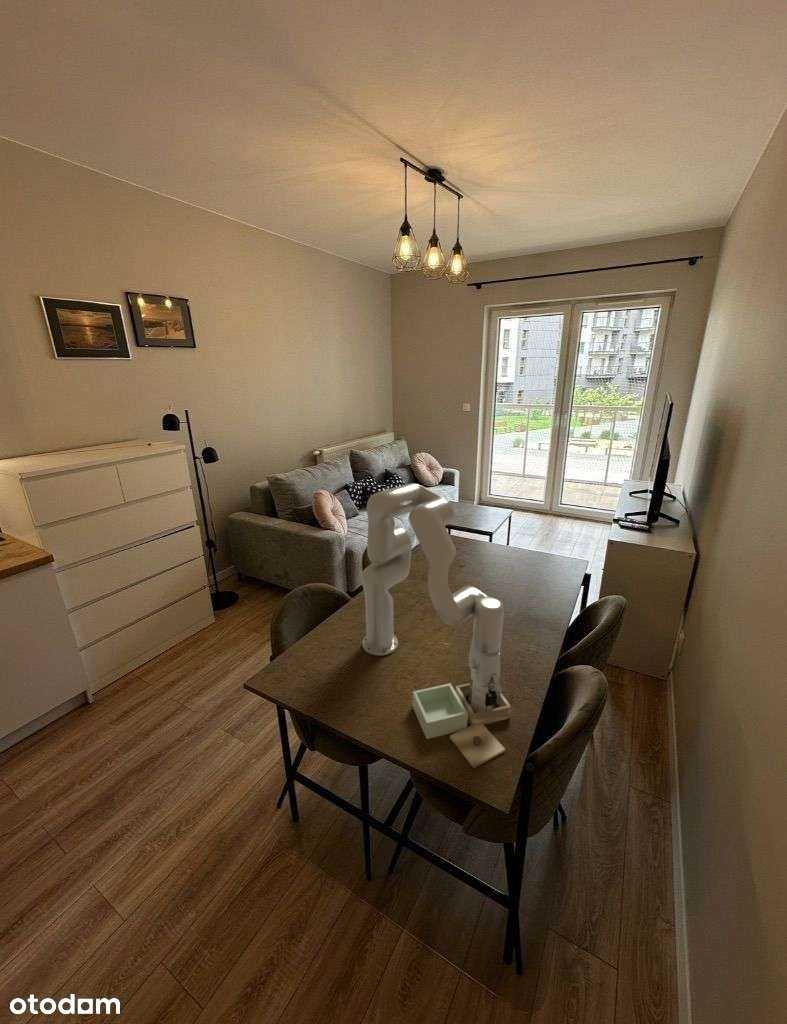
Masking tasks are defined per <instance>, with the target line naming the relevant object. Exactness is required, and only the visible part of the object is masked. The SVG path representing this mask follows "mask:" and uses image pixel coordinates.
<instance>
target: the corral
mask: <svg viewBox="0 0 787 1024" xmlns="http://www.w3.org/2000/svg"><path fill="white" fill-rule="evenodd" d="M454 688H455V689H454V690H455V692H456V694H457V695H458V697H459V699H460V701H461V702H462V704H463V706H464V707H465V709H466V711H467V713H468V718H467V722H468V723H469V724H470V726H471V725H476V724H480V723H482V724H483V725H484V726H485V725H489V724H492V723H493V724H494V723H497V722H500V721H504V720H505V721H506V720H508V719H511V715H512V714H511V711H512V706H511V704H510V702H509V701H508V700H507V699H506V697H505V696H504V695H503V692H501V693H500V695H497V703H496V705H497V706H498V707H493V708H492V709H490V710H486V711H482V712H478V713H476V712H475V711H473V710H472V709H471V707H470V705H469V704H468V701H467V698H466V697H469V689H470V682H468V683H464V684H460V685H459V684H458V685H455V687H454Z"/></svg>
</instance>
